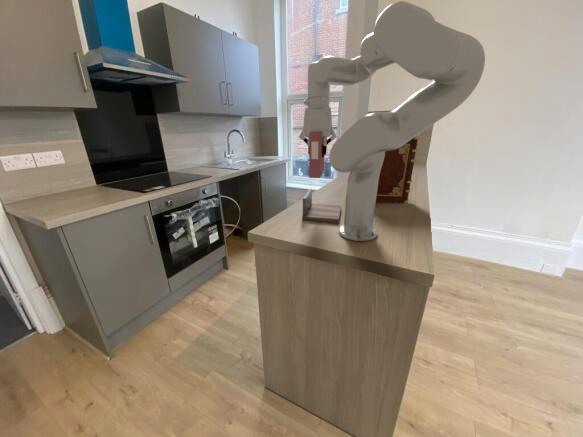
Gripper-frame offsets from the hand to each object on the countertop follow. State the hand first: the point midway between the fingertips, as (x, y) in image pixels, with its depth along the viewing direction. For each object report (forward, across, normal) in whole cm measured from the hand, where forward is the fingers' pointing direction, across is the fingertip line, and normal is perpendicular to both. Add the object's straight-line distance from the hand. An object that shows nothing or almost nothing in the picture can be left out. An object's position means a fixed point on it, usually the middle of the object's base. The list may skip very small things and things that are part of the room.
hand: (317, 156), depth 92 cm
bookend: (+22, -4, 0) cm, 22 cm away
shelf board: (+24, +3, 0) cm, 24 cm away
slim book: (+7, 0, +1) cm, 7 cm away
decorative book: (+24, +29, +25) cm, 45 cm away
